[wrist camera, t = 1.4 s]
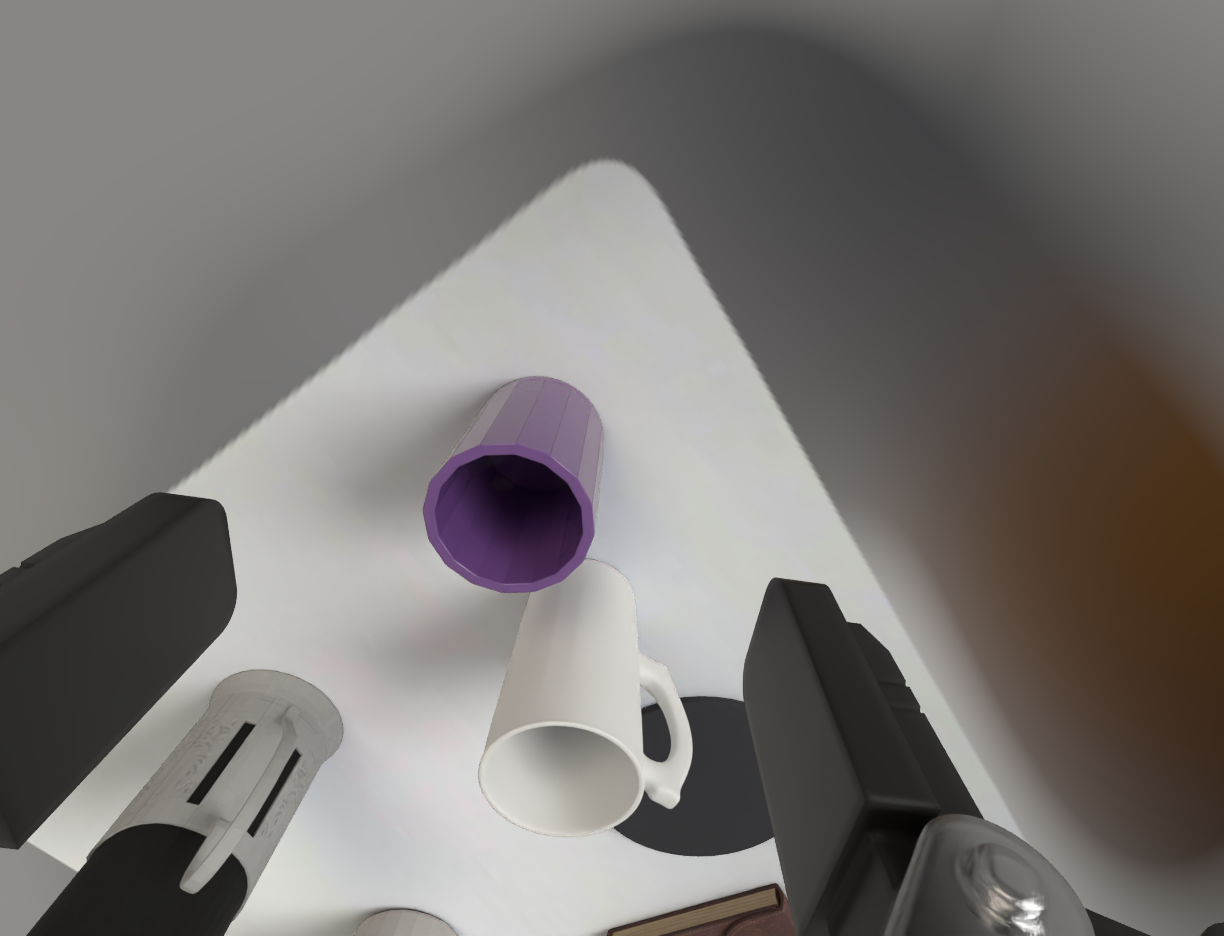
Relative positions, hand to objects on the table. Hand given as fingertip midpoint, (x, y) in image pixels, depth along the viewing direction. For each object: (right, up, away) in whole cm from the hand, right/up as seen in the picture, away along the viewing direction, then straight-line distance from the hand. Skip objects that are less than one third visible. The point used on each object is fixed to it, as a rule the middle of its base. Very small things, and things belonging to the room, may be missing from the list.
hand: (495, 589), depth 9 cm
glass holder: (-19, -13, +30) cm, 38 cm away
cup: (-2, +3, +22) cm, 23 cm away
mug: (+1, -7, +27) cm, 28 cm away
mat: (+8, -19, +32) cm, 38 cm away
